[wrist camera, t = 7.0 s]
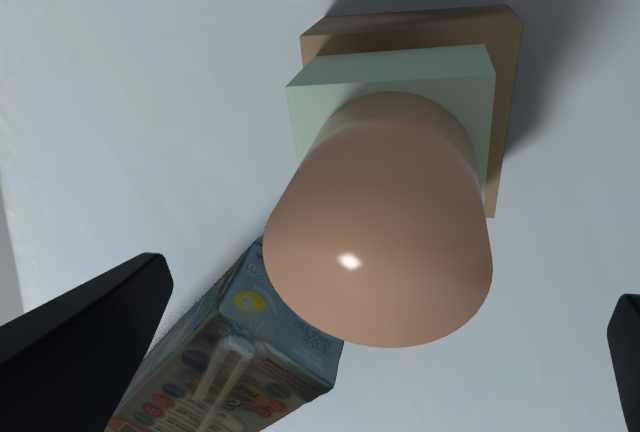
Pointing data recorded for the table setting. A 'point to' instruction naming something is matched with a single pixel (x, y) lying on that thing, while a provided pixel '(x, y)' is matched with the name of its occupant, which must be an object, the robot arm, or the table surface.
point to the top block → (398, 89)
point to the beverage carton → (230, 361)
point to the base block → (427, 32)
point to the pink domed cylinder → (383, 225)
